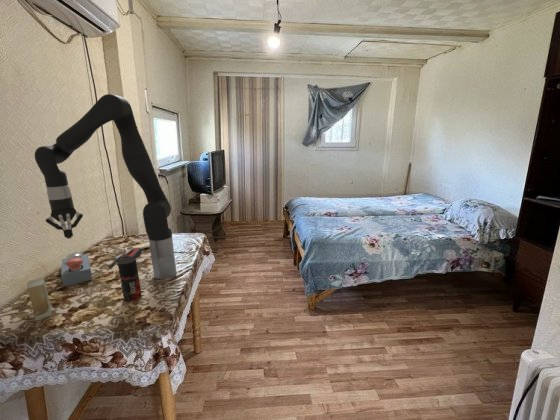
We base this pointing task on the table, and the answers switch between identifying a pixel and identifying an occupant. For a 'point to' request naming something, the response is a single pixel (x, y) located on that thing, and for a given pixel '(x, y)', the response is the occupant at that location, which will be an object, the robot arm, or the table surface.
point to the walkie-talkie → (127, 255)
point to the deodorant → (129, 279)
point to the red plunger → (74, 263)
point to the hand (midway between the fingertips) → (69, 237)
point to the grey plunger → (74, 256)
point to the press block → (76, 272)
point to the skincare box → (39, 298)
